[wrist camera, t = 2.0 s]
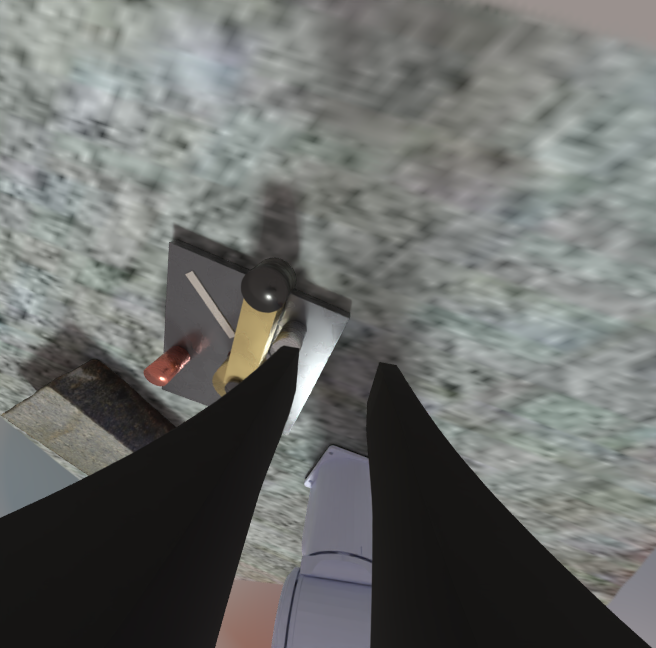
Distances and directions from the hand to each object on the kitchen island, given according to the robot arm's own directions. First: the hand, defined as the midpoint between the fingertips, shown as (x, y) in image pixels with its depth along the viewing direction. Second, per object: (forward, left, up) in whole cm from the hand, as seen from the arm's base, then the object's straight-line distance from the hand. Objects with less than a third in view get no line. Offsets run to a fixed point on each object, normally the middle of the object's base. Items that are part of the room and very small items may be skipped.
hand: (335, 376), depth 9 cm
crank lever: (-6, +5, -9) cm, 12 cm away
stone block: (-30, +17, -11) cm, 36 cm away
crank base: (-10, +5, -10) cm, 15 cm away
